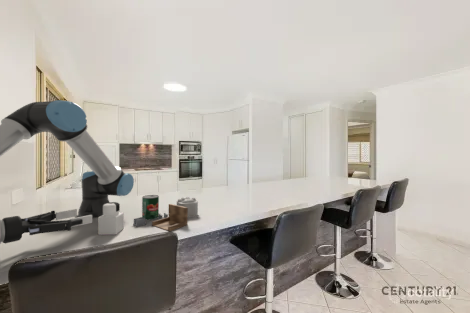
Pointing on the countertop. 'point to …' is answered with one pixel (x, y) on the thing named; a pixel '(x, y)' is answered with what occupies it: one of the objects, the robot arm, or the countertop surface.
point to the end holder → (173, 218)
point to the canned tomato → (150, 207)
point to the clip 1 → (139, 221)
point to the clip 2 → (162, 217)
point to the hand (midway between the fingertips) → (83, 215)
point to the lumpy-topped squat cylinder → (189, 205)
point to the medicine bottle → (111, 219)
